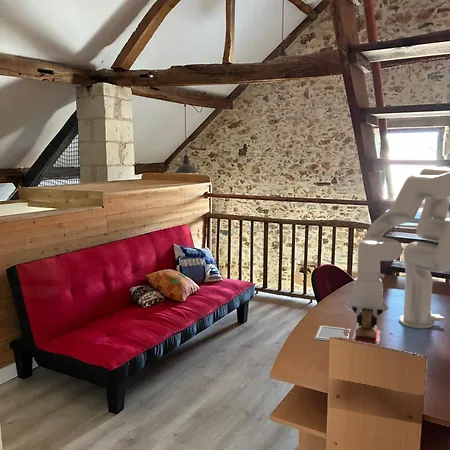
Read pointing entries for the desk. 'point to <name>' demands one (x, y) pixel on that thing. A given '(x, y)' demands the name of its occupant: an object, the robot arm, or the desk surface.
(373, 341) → the ink pad
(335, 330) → the board
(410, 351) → the desk surface
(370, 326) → the stamp
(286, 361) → the desk surface
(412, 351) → the desk surface
